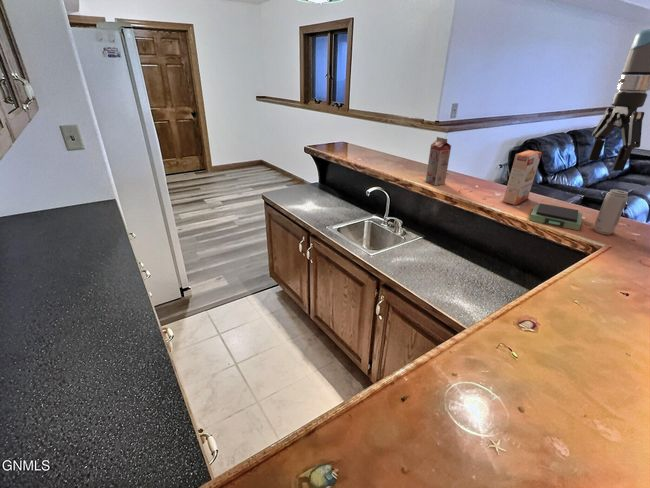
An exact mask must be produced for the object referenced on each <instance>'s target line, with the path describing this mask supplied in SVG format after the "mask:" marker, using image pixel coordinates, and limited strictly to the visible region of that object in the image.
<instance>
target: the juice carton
mask: <svg viewBox="0 0 650 488" xmlns="http://www.w3.org/2000/svg"><path fill="white" fill-rule="evenodd" d="M451 150H452V145H451V144H450V143H449V142H448V139H447V138H445V137H439V136H436V140H435V141H433V142H432V143H431V144H430V150H429V156H428V162H427V169H426V174H425V183H427V184H430V185H432V186H439V185H445V184H446V178H447V173H448V172H447V171H448V167H449V161H450V156H451Z"/></svg>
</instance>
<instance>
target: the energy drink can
mask: <svg viewBox="0 0 650 488" xmlns="http://www.w3.org/2000/svg"><path fill="white" fill-rule="evenodd" d="M628 194H629V192H628V191H626V190H622V189H618V188H617V189H616V188H613V189H610V190H609V191H608V192H607V193H606V194H605V197H604V199H603V202H602V204H601V207H600V210H599V212H598V215H597V217H596V219H595V222H594V224H593V229H594V232H595V233H598V234H600V235H608V236H609V235H612V233H615V230H616V229H617V226H618V224H619V221H620V219H621V217H622V214H623V211H624V209H625V207H626V205H627V203H628V201H629V195H628Z"/></svg>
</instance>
